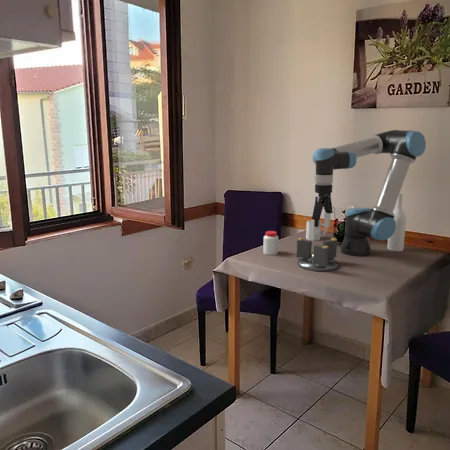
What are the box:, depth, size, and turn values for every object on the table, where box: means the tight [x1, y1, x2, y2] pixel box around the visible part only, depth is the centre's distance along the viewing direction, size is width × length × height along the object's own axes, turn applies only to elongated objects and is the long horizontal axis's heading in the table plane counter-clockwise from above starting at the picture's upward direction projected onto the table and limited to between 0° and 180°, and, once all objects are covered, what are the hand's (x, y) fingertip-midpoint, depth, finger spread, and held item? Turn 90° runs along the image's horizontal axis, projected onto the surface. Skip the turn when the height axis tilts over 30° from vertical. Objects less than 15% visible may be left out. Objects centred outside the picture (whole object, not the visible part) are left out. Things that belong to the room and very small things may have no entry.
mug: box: [305, 219, 329, 241], centre depth 261 cm, size 12×9×10 cm
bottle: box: [386, 192, 407, 252], centre depth 237 cm, size 8×8×30 cm
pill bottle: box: [262, 230, 279, 256], centre depth 235 cm, size 8×8×11 cm
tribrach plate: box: [297, 251, 339, 272], centre depth 216 cm, size 19×19×7 cm
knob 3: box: [322, 237, 338, 260], centre depth 219 cm, size 6×4×10 cm
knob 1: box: [296, 237, 313, 260], centre depth 219 cm, size 6×4×10 cm
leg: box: [313, 244, 329, 268], centre depth 209 cm, size 6×4×10 cm
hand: (321, 230), depth 207 cm, fingers open, 13 cm apart
